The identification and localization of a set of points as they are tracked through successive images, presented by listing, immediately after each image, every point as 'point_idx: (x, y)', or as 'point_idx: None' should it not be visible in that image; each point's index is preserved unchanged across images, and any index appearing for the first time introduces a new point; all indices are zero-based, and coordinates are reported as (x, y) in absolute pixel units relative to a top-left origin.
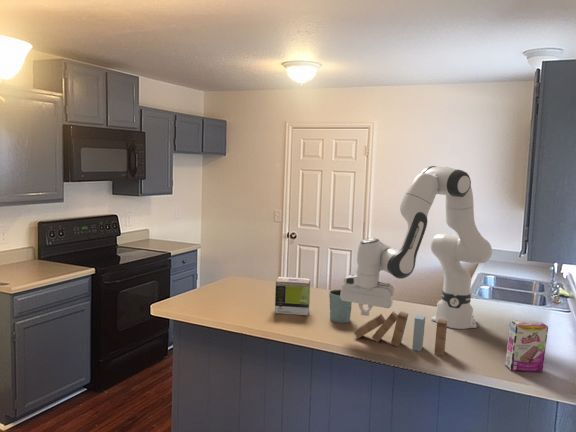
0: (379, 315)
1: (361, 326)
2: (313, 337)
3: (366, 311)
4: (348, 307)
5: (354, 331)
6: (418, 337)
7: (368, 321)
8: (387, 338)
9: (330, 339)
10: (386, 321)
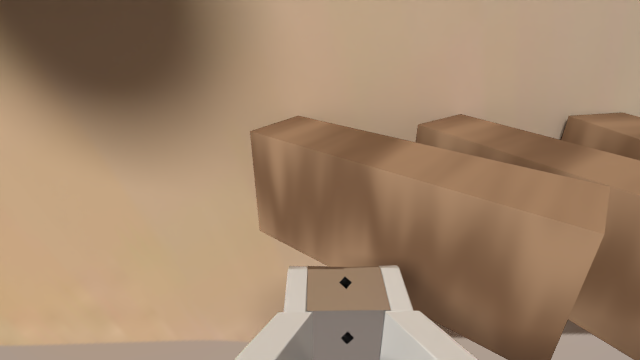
0: (565, 319)
1: (311, 217)
2: (65, 315)
3: (374, 358)
4: None
5: (268, 234)
6: None
7: (369, 178)
8: (514, 77)
9: (160, 296)
10: (624, 341)
